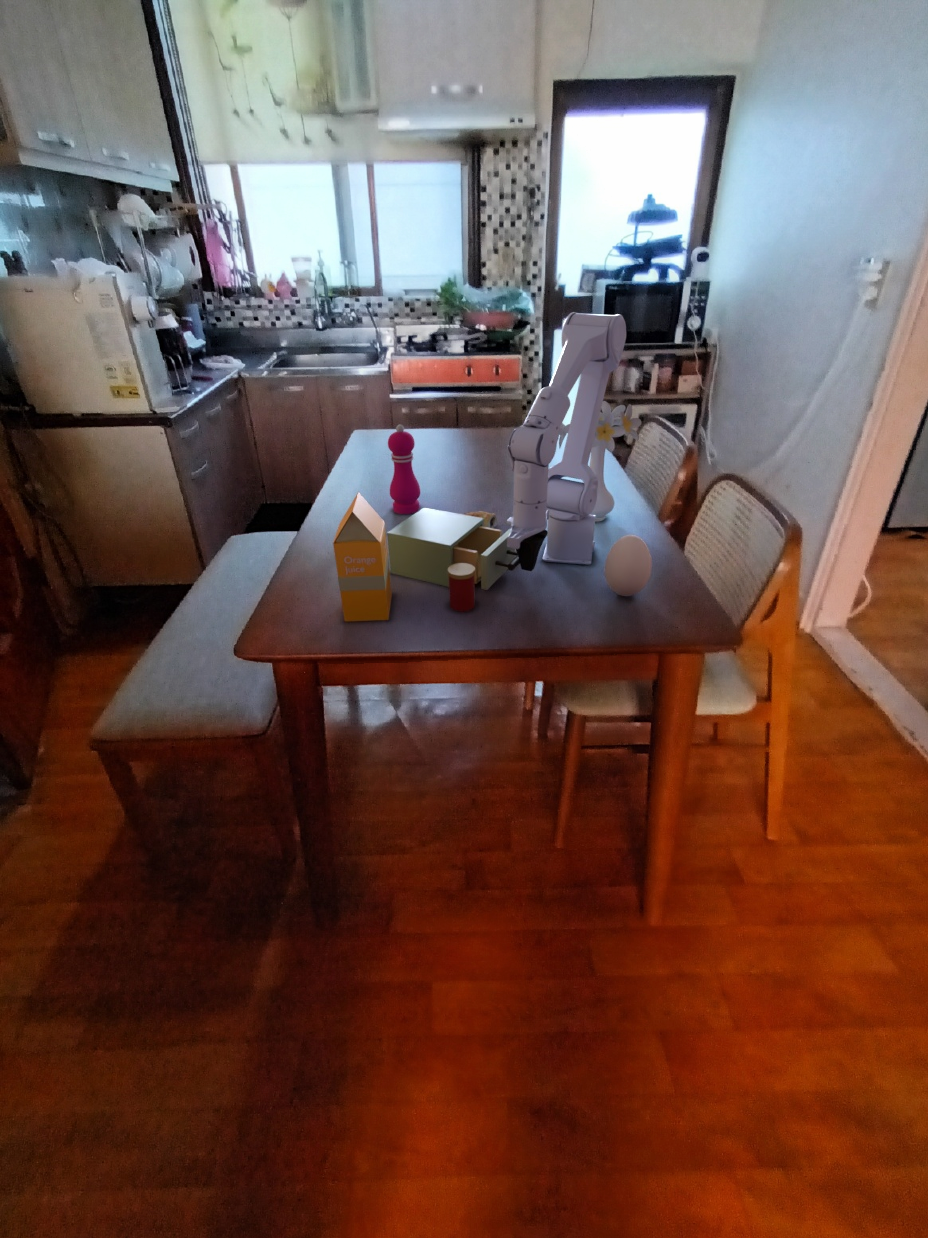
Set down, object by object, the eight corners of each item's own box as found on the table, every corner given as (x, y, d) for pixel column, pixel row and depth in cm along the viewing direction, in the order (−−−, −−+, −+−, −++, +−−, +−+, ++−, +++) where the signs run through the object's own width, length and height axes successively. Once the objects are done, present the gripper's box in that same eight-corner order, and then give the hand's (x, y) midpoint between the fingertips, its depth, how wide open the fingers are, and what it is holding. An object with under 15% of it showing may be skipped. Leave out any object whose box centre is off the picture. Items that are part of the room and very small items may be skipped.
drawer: (533, 565, 120) (534, 533, 116) (506, 594, 111) (507, 560, 107) (458, 550, 127) (457, 518, 123) (427, 576, 117) (425, 543, 114)
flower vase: (545, 508, 147) (550, 399, 133) (622, 505, 147) (635, 396, 134) (553, 530, 136) (560, 414, 122) (637, 527, 136) (653, 411, 123)
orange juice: (392, 594, 113) (382, 489, 103) (389, 620, 106) (377, 510, 95) (349, 596, 113) (335, 491, 103) (343, 621, 106) (326, 511, 95)
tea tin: (477, 599, 111) (477, 563, 107) (472, 613, 107) (471, 576, 103) (452, 597, 112) (451, 561, 108) (446, 610, 108) (444, 574, 104)
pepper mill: (385, 512, 147) (376, 426, 136) (401, 501, 152) (394, 419, 142) (411, 517, 144) (404, 430, 133) (427, 506, 149) (422, 422, 139)
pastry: (449, 530, 137) (448, 513, 135) (462, 519, 142) (461, 503, 140) (488, 536, 134) (488, 519, 132) (500, 524, 139) (500, 508, 137)
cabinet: (484, 557, 125) (484, 518, 121) (452, 587, 115) (450, 545, 110) (426, 545, 131) (424, 507, 126) (390, 573, 121) (386, 532, 116)
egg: (593, 594, 112) (598, 536, 106) (618, 579, 116) (625, 522, 110) (631, 610, 107) (639, 550, 101) (655, 593, 111) (665, 535, 105)
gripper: (525, 481, 113) (522, 549, 120) (490, 509, 102) (490, 581, 110) (561, 487, 110) (557, 555, 117) (530, 516, 99) (527, 589, 107)
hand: (527, 568), depth 113 cm, fingers closed, pressing on drawer
